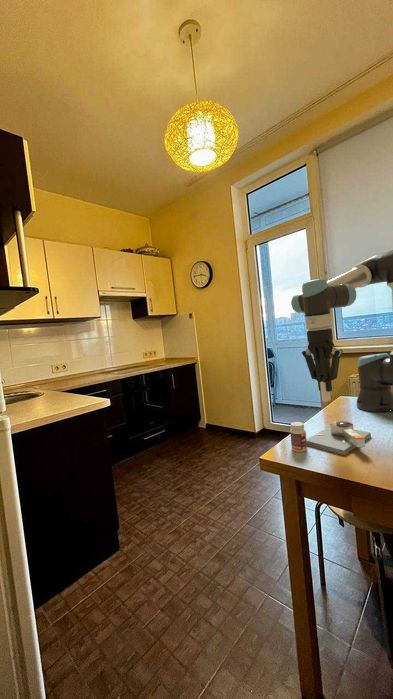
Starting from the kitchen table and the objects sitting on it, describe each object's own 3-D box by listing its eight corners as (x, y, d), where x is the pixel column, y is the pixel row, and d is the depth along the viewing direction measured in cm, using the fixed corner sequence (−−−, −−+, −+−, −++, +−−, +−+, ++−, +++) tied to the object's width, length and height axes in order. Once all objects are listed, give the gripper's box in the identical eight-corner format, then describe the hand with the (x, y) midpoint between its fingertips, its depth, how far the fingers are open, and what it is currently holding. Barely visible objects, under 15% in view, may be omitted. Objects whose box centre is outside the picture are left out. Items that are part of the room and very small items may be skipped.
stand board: (332, 429, 107) (332, 424, 107) (372, 437, 96) (372, 432, 96) (305, 444, 96) (304, 439, 96) (346, 455, 85) (345, 450, 85)
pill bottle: (305, 453, 90) (303, 426, 90) (290, 451, 93) (287, 425, 92) (308, 447, 94) (306, 421, 94) (293, 445, 97) (291, 420, 96)
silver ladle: (327, 430, 102) (326, 419, 102) (347, 428, 101) (346, 417, 101) (349, 449, 86) (348, 436, 85) (373, 447, 85) (372, 434, 85)
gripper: (294, 331, 96) (302, 401, 97) (332, 328, 85) (340, 406, 87) (307, 329, 100) (314, 395, 102) (345, 325, 89) (352, 400, 91)
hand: (326, 400), depth 94 cm, fingers closed
